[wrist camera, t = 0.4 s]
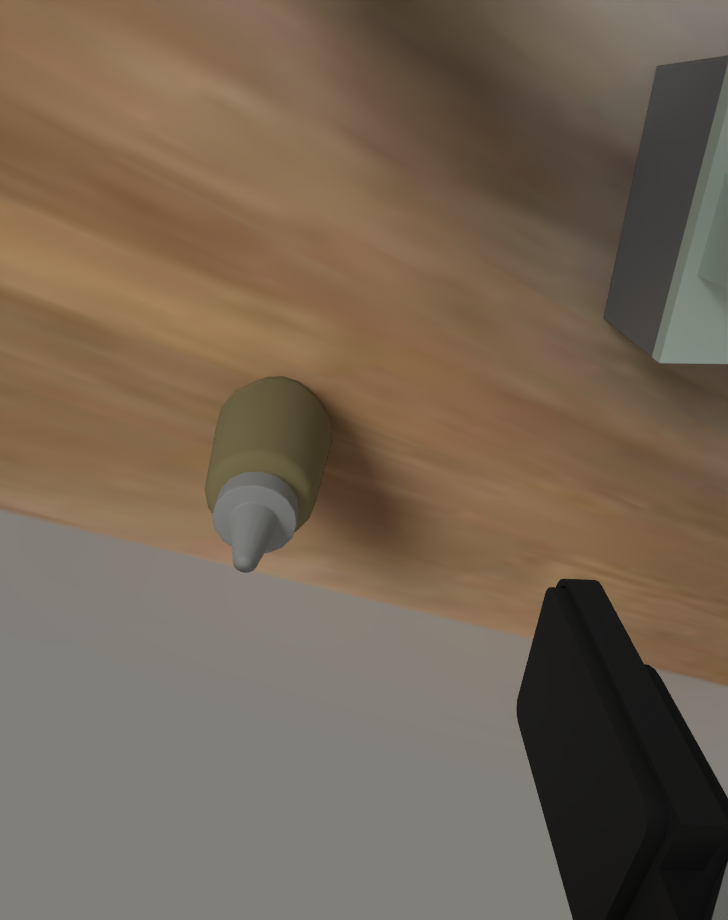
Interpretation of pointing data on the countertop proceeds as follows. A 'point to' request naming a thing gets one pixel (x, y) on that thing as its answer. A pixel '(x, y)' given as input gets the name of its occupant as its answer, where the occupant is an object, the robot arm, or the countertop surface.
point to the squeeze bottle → (266, 466)
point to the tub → (662, 194)
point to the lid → (702, 263)
